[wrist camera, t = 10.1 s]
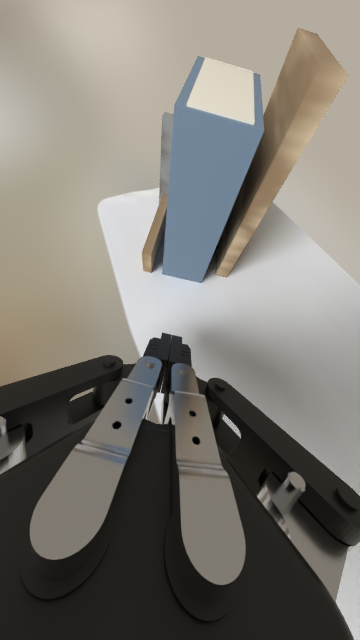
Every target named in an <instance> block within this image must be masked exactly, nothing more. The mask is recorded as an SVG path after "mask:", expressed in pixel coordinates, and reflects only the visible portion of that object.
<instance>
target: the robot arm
mask: <svg viewBox="0 0 360 640" xmlns="http://www.w3.org/2000/svg"><path fill="white" fill-rule="evenodd" d="M171 337H172V339H171ZM163 377H164V378H163ZM162 381H163V383H162ZM161 385H162V389H161ZM91 388H93V392H90V393H88V394H86V395H84V396H81V397H79V398H77V399H75V400H72V401H70V399H71V398H72V397H73V396H75V395H77V394H79V393H81V392H83V391H86V390H88V389H91ZM160 389H161V393H164V399H163V402H162V413H161V424H155V423H153V422H151V421H148V418H149V415H150V411H151V408H152V405H153V402H154V399H155V397H156V394H157V392H159V393H160ZM69 401H70V402H69ZM224 414H225V415H226V416H227V417H228V418H229V419H230V420H231V421H232V422H233V423H234V424H235V425H236V426H237V427H238V429H239V430H240V433H241V439H240V438H239V436H238V435H237V434H236V433H235V432H234V431H233V430H232V429H231V428H230V427H229V426H228V425H227V424H226V423H225V422H224V420H223V419H222V417H223V415H224ZM359 542H360V496H359V495H358V494H357V493H356V492H355V491H354V490H353V489H352V488H351V487H350V486H348V485H347V484H346V483H345V482H344V481H343V480H341V479H340V478H339V477H338V476H337V475H335V474H334V473H333V472H332V471H331V470H330V469H328V468H327V467H326V466H325V465H324V464H323V463H321V462H320V461H319V460H318V459H317V458H315V457H314V456H313V455H312V454H311V453H310V452H308V451H307V450H306V449H305V448H304V447H302V446H301V445H300V444H299V443H298V442H297V441H295V440H294V439H293V438H292V437H291V436H290V435H288V434H287V433H286V432H285V431H284V430H282V429H281V428H280V427H279V426H278V425H277V424H275V423H274V422H273V421H272V420H271V419H270V418H268V417H267V416H266V415H265V414H264V413H262V412H261V411H260V410H259V409H258V408H257V407H255V406H254V405H253V404H252V403H251V402H250V401H248V400H247V399H246V398H245V397H244V396H242V395H241V394H240V393H239V392H238V391H237V390H235V389H234V388H233V387H232V386H231V385H229V384H228V383H227V382H226V381H224V380H222V379H219V378H211V379H209V381H208V382H205V381H203V380H201V379H199V378H198V377H196V375H195V371H194V369H193V368H192V366H191V349H190V348H189V346H188V345H186V344H182V337H179V336H175V335H170V334H166V333H162V336H161V339H159V338H152V339H151V340H150V341H149V343H148V346H147V348H146V350H145V353H144V355H143V357H141V358H140V359H139V360H138V361H137V363H135V364H127V365H126V364H123V361H122V360H121V359H120V358H119V357H117V356H112V355H106V356H101V357H98V358H95V359H91V360H88V361H85V362H81V363H78V364H75V365H71V366H68V367H64V368H61V369H58V370H55V371H51V372H48V373H45V374H41V375H38V376H34V377H31V378H28V379H25V380H21V381H18V382H14V383H11V384H8V385H4V386H1V387H0V640H354V639H353V636H352V634H351V632H350V629H349V627H348V625H347V623H346V621H345V619H344V617H343V615H342V613H341V611H340V610H339V608H338V606H337V604H336V602H335V601H336V597H337V593H338V589H339V584H340V580H341V576H342V572H343V567H344V563H345V559H346V555H347V552H349V551H350V550H351V549H352V548H353V547H354V546H355V545H356V544H358V543H359Z"/></svg>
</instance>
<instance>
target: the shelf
mask: <svg viewBox="0 0 360 640" xmlns="http://www.w3.org/2000/svg"><path fill="white" fill-rule="evenodd" d="M347 77H348V74H347V73H346V72H345V70H344V69H343V68H342V66H341V65H340V64H339V62H338V61H337V60H336V59H335V57H334V56H333V55H332V53H331V52H330V50H329V49H328V48H327V47H326V45H325V44H324V42H323V41H322V40H321V39H320V37H319V36H318V35H317V34H316V33H313V32H310V31H306V30H303V29H300V28H298V29H297V31H296V34H295V36H294V39H293V41H292V44H291V46H290V49H289V52H288V54H287V57H286V59H285V62H284V64H283V67H282V70H281V72H280V75H279V77H278V80H277V83H276V85H275V88H274V90H273V93H272V95H271V98H270V100H269V103H268V105H267V108H266V111H265V113H264V116H263V120H264V132H263V135H262V137H261V140H260V142H259V144H258V147H257V149H256V152H255V154H254V157H253V159H252V161H251V164H250V166H249V169H248V171H247V174H246V176H245V178H244V181H243V183H242V186H241V188H240V190H239V193H238V195H237V198H236V200H235V203H234V205H233V207H232V210H231V212H230V215H229V217H228V220H227V222H226V224H225V227H224V229H223V232H222V234H221V236H220V240H219V249H218V258H217V267H216V275H219V276H223V277H227V276H228V274H229V273H230V271H231V269H232V268H233V266H234V264H235V263H236V261H237V259H238V258H239V256H240V254H241V253H242V251H243V250H244V248H245V246H246V245H247V243H248V241H249V240H250V238H251V236H252V235H253V233H254V231H255V230H256V228H257V226H258V225H259V223H260V221H261V220H262V218H263V216H264V215H265V213H266V211H267V210H268V208H269V206H270V205H271V203H272V201H273V200H274V198H275V196H276V195H277V193H278V192H279V190H280V188H281V187H282V185H283V183H284V182H285V180H286V178H287V177H288V175H289V173H290V171H291V170H292V168H293V167H294V165H295V163H296V162H297V160H298V158H299V157H300V155H301V153H302V152H303V150H304V148H305V147H306V145H307V143H308V142H309V140H310V139H311V137H312V135H313V134H314V132H315V130H316V129H317V127H318V125H319V124H320V122H321V120H322V119H323V117H324V115H325V114H326V112H327V110H328V109H329V107H330V105H331V104H332V102H333V100H334V99H335V97H336V95H337V94H338V92H339V90H340V88H341V87H342V85H343V84H344V82H345V81H346V79H347ZM173 119H174V115H173V114H170V113H166V112H165V113H164V114H163V116H162V136H161V166H160V169H161V170H160V196H159V207H158V209H157V212H156V215H155V218H154V221H153V223H152V226H151V229H150V232H149V234H148V237H147V240H146V243H145V245H144V248H143V251H142V260H143V271H147V272H152V269H153V266H154V262H155V259H156V256H157V253H158V250H159V246H160V243H161V240H162V237H163V233H164V230H165V227H166V215H167V201H168V188H169V174H170V160H171V147H172V133H173Z"/></svg>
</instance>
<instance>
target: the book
mask: <svg viewBox="0 0 360 640" xmlns="http://www.w3.org/2000/svg"><path fill="white" fill-rule="evenodd" d="M260 82H261V81H260V75H259V74H256V73H253V71H250V70H246V69H243V68H240V67H237V66H234V65H230V64H227V63H223V62H220V61H217V60H213V59H210V58H207V57H206V58H202V57H199V56H198V57H197V60H196V61H195V64H194V66H193V68H192V70H191V72H190V74H189V76H188V78H187V80H186V82H185V85H184V87H183V89H182V91H181V93H180V95H179V97H178V99H177V101H176V103H175V106H174V119H173V133H172V147H171V160H170V174H169V188H168V201H167V215H166V229H165V242H164V256H163V270H162V274H164V275H168V276H173V277H177V278H182V279H186V280H190V281H195V282H199V283H201V282H202V280H203V278H204V275H205V273H206V270H207V268H208V266H209V263H210V261H211V258H212V256H213V253H214V251H215V249H216V246H217V244H218V241H219V239H220V236H221V234H222V232H223V229H224V227H225V224H226V222H227V220H228V217H229V215H230V212H231V210H232V207H233V205H234V203H235V200H236V198H237V195H238V193H239V190H240V188H241V186H242V183H243V181H244V178H245V176H246V174H247V171H248V169H249V166H250V164H251V161H252V159H253V157H254V154H255V152H256V149H257V147H258V144H259V142H260V140H261V137H262V135H263V132H264V120H263V107H262V96H261V95H262V94H261V83H260Z"/></svg>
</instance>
